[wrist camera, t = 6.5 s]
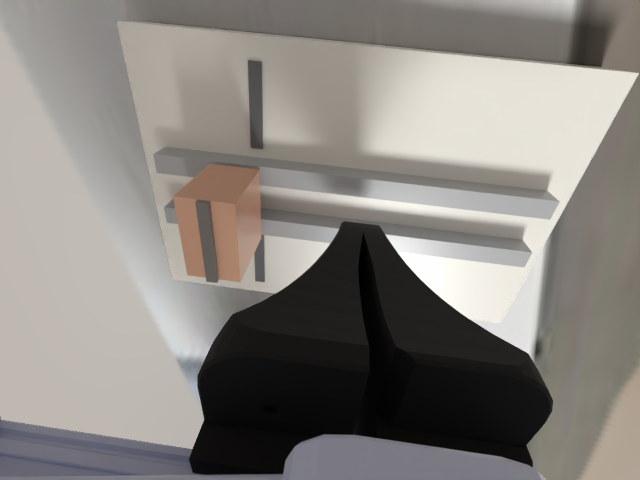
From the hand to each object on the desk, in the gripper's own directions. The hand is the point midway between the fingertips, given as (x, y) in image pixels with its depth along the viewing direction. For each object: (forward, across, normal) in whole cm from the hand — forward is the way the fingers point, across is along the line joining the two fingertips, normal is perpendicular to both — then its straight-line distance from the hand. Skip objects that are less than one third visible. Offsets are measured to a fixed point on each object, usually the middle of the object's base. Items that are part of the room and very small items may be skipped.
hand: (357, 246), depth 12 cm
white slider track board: (+5, 0, 0) cm, 5 cm away
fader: (+3, +5, 0) cm, 6 cm away
